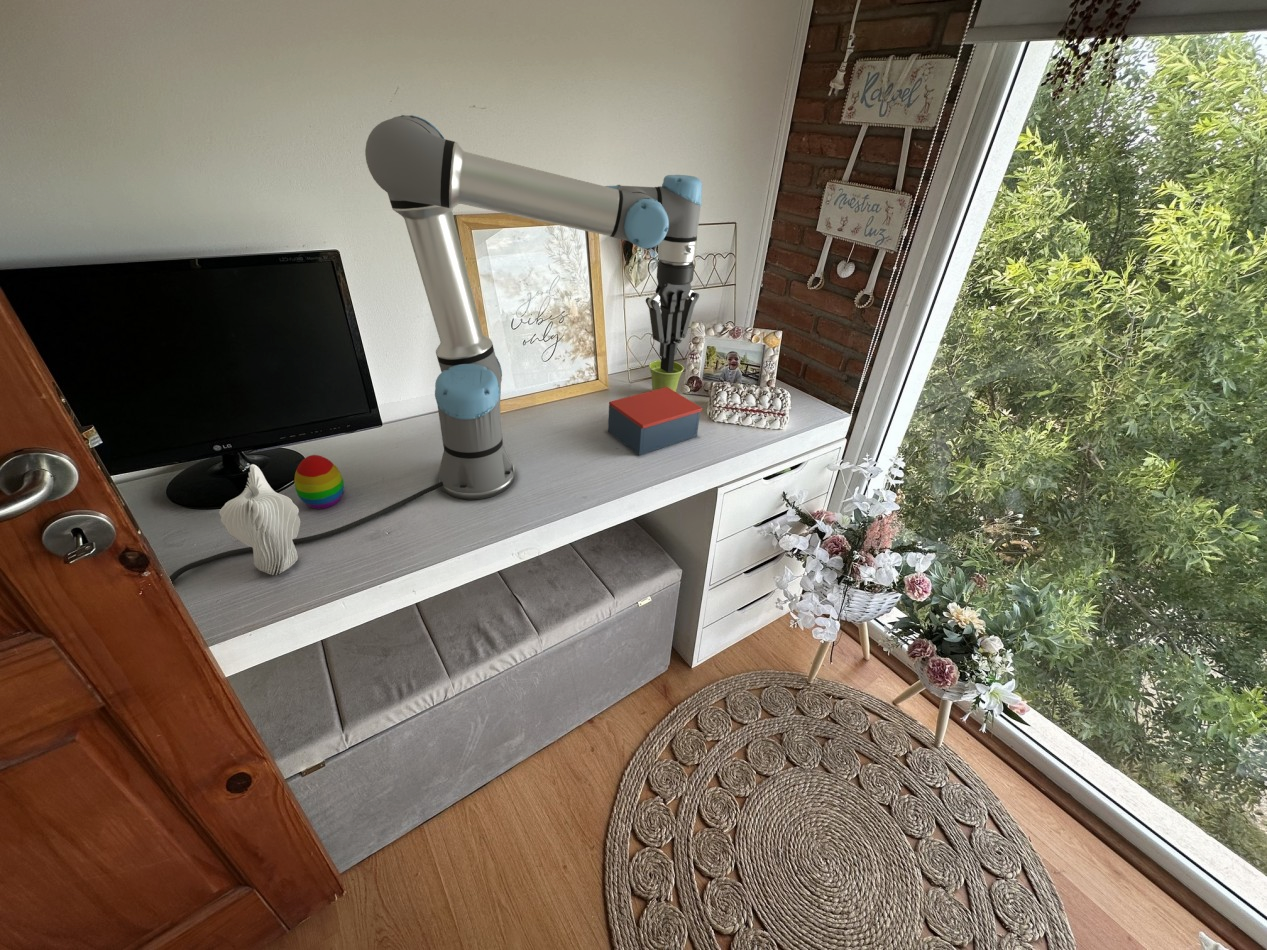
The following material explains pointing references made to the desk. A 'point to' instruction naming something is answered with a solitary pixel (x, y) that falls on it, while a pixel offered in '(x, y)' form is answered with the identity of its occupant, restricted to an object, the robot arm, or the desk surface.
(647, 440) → the box
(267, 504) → the shell sculpture
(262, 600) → the desk surface
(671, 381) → the plant pot
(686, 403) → the lid
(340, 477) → the decorative egg
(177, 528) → the desk surface
